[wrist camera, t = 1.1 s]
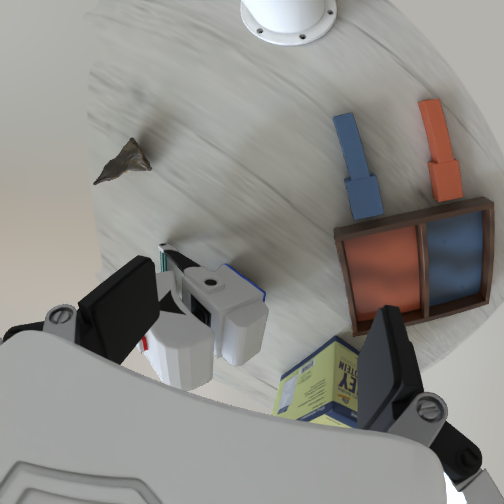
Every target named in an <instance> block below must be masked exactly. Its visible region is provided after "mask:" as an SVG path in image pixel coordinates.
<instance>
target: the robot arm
mask: <svg viewBox="0 0 504 504" xmlns="http://www.w3.org/2000/svg"><path fill="white" fill-rule="evenodd" d="M240 14H241V17H242V20H243V22H244V23H245V25H246V27H247V28H248V29H249V30H250V31H251V32H252V33H253V34H254V35H256V36H257V37H259V38H261V39H262V40H264V41H267V42H270V43H273V44H278V45H287V46H292V45H301V44H306V43H309V42H312V41H314V40H317V39H318V38H320V37H322V36H323V35H325V34H326V33H327V32H328V31H329V30H330V28H331V27H332V26H333V24H334V22H335V19H336V14H337V5H336V1H335V0H241V5H240ZM329 14H332V15H329ZM260 32H263V33H260ZM302 37H304V38H305V39H301V38H302ZM78 306H79V309H78V310H77V311H76V309H75V307H73V306H72V305H68V304H63V305H58V306H56V307H54V308H52V309H51V310H50V311H49V312H48V313H47V315H46V317H45V321H43V322H36V323H31V324H25V325H19V326H14V327H11V328H10V329H9V330H8V331H7V332H6V333H5V335H4V337H3V340H2V338H0V504H504V498H503V496H502V495H501V493H500V491H499V490H498V488H497V486H496V485H495V483H494V481H493V480H492V478H491V477H490V475H489V473H488V472H487V470H486V469H484V470H482V469H481V468H480V467H481V465H482V454H481V451H480V449H479V448H478V447H477V446H476V445H475V444H474V443H473V442H471V441H470V440H469V439H468V438H466V437H465V436H464V435H463V434H462V433H460V432H459V431H458V430H457V429H455V428H454V427H453V426H452V425H451V424H449V423H448V422H447V421H446V419H447V416H448V408H447V405H446V403H445V402H444V400H443V399H442V398H441V397H440V396H438V395H437V394H435V393H430V392H424V388H423V384H422V379H421V375H420V371H419V367H418V363H417V359H416V355H415V351H414V347H413V344H412V342H410V341H409V339H408V335H407V332H406V328H405V325H404V321H403V318H402V315H401V312H400V308H399V307H398V306H392V305H384V307H383V308H381V307H380V308H379V309H378V311H377V314H376V316H375V319H374V321H373V324H372V326H371V329H370V331H369V333H368V336H367V338H366V340H365V342H364V345H363V347H362V349H361V351H360V354H359V356H358V359H357V429H355V428H346V427H338V426H330V425H323V424H317V423H311V422H305V421H299V420H293V419H288V418H283V417H278V416H273V415H268V414H264V413H259V412H255V411H251V410H247V409H243V408H239V407H235V406H232V405H228V404H224V403H221V402H218V401H214V400H211V399H207V398H205V397H201V396H198V395H195V394H192V393H189V392H186V391H183V390H181V389H178V388H175V387H172V386H169V385H167V384H164V383H161V382H159V381H156V380H154V379H151V378H149V377H146V376H144V375H141V374H139V373H137V372H134V371H132V370H130V369H127V368H125V367H123V366H121V363H122V362H123V361H124V360H125V358H126V357H127V356H128V355H129V353H130V352H131V351H132V350H133V349H134V347H135V346H136V345H137V344H138V343H139V341H140V340H141V339H142V338H143V336H144V335H145V334H146V333H147V332H148V330H149V329H150V328H151V327H152V326H153V324H154V323H155V322H156V321H157V320H158V318H159V316H160V307H159V300H158V292H157V283H156V273H155V264H154V262H152V260H151V258H149V257H144V256H140V255H138V256H136V257H135V258H133V259H132V260H131V261H130V262H128V263H127V264H126V265H124V266H123V267H122V268H120V269H119V270H118V271H117V272H115V273H114V274H113V275H111V276H110V277H109V278H108V279H106V280H105V281H104V282H103V283H101V284H100V285H99V286H98V287H96V288H95V289H94V290H93V291H91V292H90V293H89V294H88V295H87V296H85V297H84V298H83V299H82V300H80V301H79V302H78Z"/></svg>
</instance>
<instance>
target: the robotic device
mask: <svg viewBox="0 0 504 504" xmlns="http://www.w3.org/2000/svg"><path fill="white" fill-rule="evenodd" d="M159 250H160V252H161V273H157V274H156V283H157V292H158V300H159V307H160V316H159V318H158V320H157V321H156V322H155V323H154V324H153V326H152V327H151V328H150V329H149V330H148V332H147V333H146V334H145V335H144V336H143V338H142V339H141V340H140V341H139V343H138V344H137V345H136V346H137V348H138V350H139V352H140V353H142V352H144V354H145V355H146V357H147V359H148V360H149V362H150V363H151V365H152V367H153V368H154V370H155V371H156V373H157V374H158V376H159V377H160V379H161V380H162V382H163V383H164V384H167V385H169V386H172V387H175V388H178V389H181V390H183V391H190V390H193V389H195V388H198V387H200V386H202V385H204V384H206V383H208V382H209V381H210V380H212V376H213V356H215V357H216V358H220V357H222V356H223V357H224V358H225V359H226V360H227V361H228V362H229V363H230V364H231V365H233V366H241V365H243V364H244V363H246V362H247V361H248V360H249V359H251V358H252V357H253V356H255V355H256V354H257V353H258V352H259V351H260V349H261V344H262V340H263V335H264V330H265V326H266V321H267V316H268V307H267V306H266V304H265V303H264V301H265V296H266V292H265V291H263V290H262V289H261V288H259V287H258V286H256V285H255V284H254V283H252V282H251V281H250V280H248V279H247V278H246V277H244V276H243V275H242V274H240V273H239V272H238V271H236V270H235V269H233V268H232V267H231V266H229V265H228V264H227V263H226V264H222V265H221V266H220V268H219V269H218V270H216V271H214V272H211V271H209V270H208V269H207V268H205V267H204V266H200V265H199V264H197V263H195V262H194V261H192V260H191V259H189V258H187V257H186V256H184V255H183V254H181V253H179V252H178V250H177V249H175V248H174V247H173V246H171V245H170V244H168V243H165V244H159ZM167 256H168V257H169V258H170V259H171V260H172V261H173V262H174V263H175V265H176V266H177V267H178V268H179V269H180V270H181V271H182V272H183V273H184V275H183V276H182V300H181V299H180V297H179V295H178V293H177V288H176V276H175V273H174V272H173V271H168V270H167Z"/></svg>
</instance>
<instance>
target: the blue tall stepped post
mask: <svg viewBox="0 0 504 504" xmlns="http://www.w3.org/2000/svg"><path fill="white" fill-rule="evenodd" d="M333 121H334V125H335V128H336V131H337V134H338V137H339V141H340V144H341V147H342V151H343V154H344V158H345V161H346V165H347V169H348V173H349V177H350V178H348V179H344V181H345V185H346V189H347V193H348V197H349V202H350V206H351V210H352V215H353V218H354V220H358V219H363V218H368V217H372V216H377V215H381V214H384V212H383V206H382V201H381V196H380V191H379V186H378V182H377V177H376V175H375V174H374V173H370V174H369V170H368V166H367V162H366V158H365V154H364V150H363V147H362V143H361V140H360V136H359V133H358V129H357V126H356V123H355V120H354V117H353V113H348V114H344V115H339V116H335V117H333Z"/></svg>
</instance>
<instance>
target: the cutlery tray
mask: <svg viewBox="0 0 504 504" xmlns="http://www.w3.org/2000/svg"><path fill="white" fill-rule="evenodd" d="M333 230H334V239H335V244H336V248H337V253H338V257H339V262H340V267H341V271H342V276H343V281H344V286H345V292H346V297H347V303H348V308H349V314H350V320H351V326H352V332H353V337H355V336H360V335H366V334H368V333H369V331H370V329H371V326H372V324H373V321H374V319H375V316H376V314H377V311H378V309H379V308H380V307H381V308H383V307H384V305H392V306H398V307H399V308H400V312H401V315H402V318H403V321H404V325H405V327H406V326H410V325H415V324H419V323H423V322H427V321H431V320H435V319H439V318H443V317H446V316H450V315H453V314H457V313H460V312H464V311H467V310H471V309H474V308H477V307H480V306H483V305H486V304H489V298H490V291H491V283H492V273H493V260H494V233H495V223H494V202H493V201H491V200H489V199H487V198H485V197H480V198H475V199H470V200H465V201H460V202H456V203H451V204H446V205H441V206H437V207H432V208H427V209H423V210H418V211H413V212H409V213H404V214H399V215H395V216H390V217H385V218H381V219H376V220H371V221H367V222H362V223H357V224H353V225H348V226H344V227H339V228H334V229H333Z"/></svg>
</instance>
